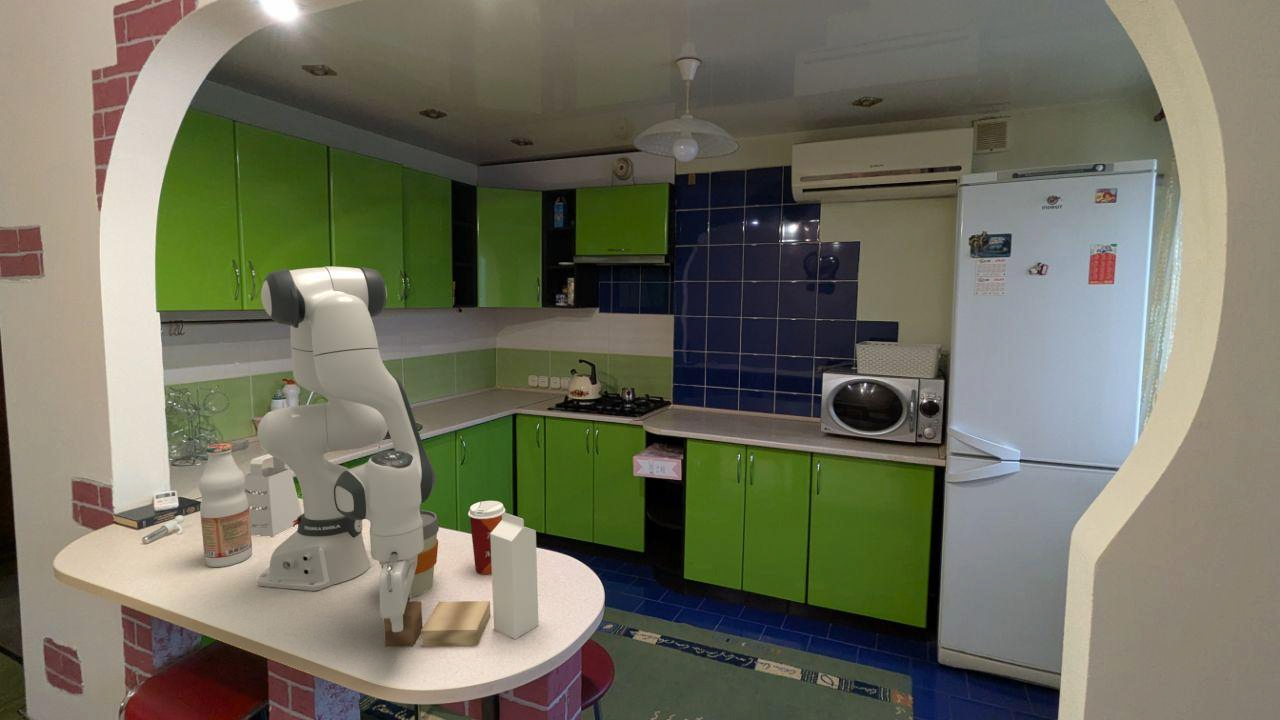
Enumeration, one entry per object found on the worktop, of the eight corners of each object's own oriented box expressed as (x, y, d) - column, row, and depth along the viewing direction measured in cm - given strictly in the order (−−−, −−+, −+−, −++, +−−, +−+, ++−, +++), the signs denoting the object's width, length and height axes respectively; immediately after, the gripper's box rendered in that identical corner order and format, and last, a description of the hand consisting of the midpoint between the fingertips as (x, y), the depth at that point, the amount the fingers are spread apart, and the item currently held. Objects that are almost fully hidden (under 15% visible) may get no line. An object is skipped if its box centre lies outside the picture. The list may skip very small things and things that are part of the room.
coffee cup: (498, 578, 131) (495, 513, 130) (463, 575, 133) (461, 511, 131) (513, 562, 139) (511, 500, 138) (481, 559, 141) (478, 498, 139)
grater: (240, 534, 157) (233, 460, 155) (272, 519, 167) (266, 450, 165) (273, 537, 155) (267, 463, 153) (304, 522, 165) (298, 452, 163)
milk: (517, 615, 116) (514, 507, 114) (539, 625, 113) (536, 513, 111) (493, 629, 112) (489, 516, 109) (514, 640, 108) (511, 523, 106)
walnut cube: (385, 647, 106) (383, 616, 106) (396, 631, 111) (394, 601, 111) (413, 647, 106) (411, 615, 106) (422, 631, 111) (421, 601, 111)
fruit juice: (196, 569, 137) (184, 451, 134) (218, 552, 146) (208, 441, 143) (240, 566, 138) (230, 449, 135) (259, 549, 148) (250, 439, 144)
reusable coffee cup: (417, 605, 120) (413, 534, 119) (366, 597, 124) (361, 528, 122) (453, 577, 132) (450, 512, 131) (405, 570, 136) (401, 507, 134)
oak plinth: (421, 646, 106) (420, 630, 106) (439, 616, 116) (438, 601, 116) (477, 645, 106) (476, 629, 106) (490, 615, 116) (489, 601, 116)
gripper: (408, 564, 97) (413, 644, 98) (422, 520, 117) (425, 588, 118) (367, 569, 95) (372, 651, 97) (387, 524, 115) (391, 592, 116)
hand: (402, 616), depth 107 cm, fingers open, 8 cm apart
